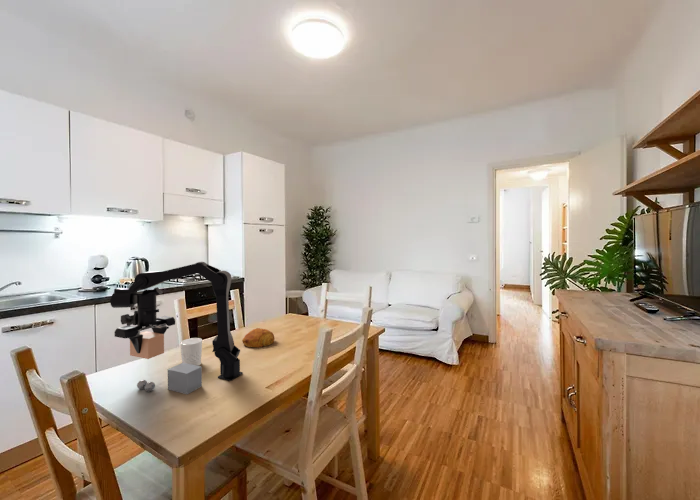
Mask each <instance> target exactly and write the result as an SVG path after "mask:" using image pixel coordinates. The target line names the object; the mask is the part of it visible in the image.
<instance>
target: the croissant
mask: <svg viewBox="0 0 700 500" xmlns="http://www.w3.org/2000/svg"><path fill="white" fill-rule="evenodd" d="M241 342H242V344H243V346H246V347H248V348H258V349H260V348H263V347H268V346H270V345H273V344H274V342H275V334H274V333H273V332H272V331H270V329H269V330H268V329H266V328H261V327H259V328H258V327H256V328H253V329H252V330H250V331H249V332H248V333H246V334H245V335H244V336H243V338H242V340H241Z"/></svg>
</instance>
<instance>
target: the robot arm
mask: <svg viewBox="0 0 700 500" xmlns="http://www.w3.org/2000/svg"><path fill="white" fill-rule="evenodd" d="M195 274H198V275H199V276H201V277H203V278H204V279H206V280H207V281H209V282H211V286H212V287H211V288H212V290H213V293H214V295H215V302H216V304H215V305H216V317H217V318H216V323H217V335H216V336H215V337H214V338H213V340H212V341H211V342H212V353H213V354H214V356H215V357H216V358H217V359H218V360H219V363H220V365H219V367H220V370H219V371H220V372H219V373H220V375H218V376H217V378H218V379H220V380H226V381H229V382H230V381H233V380H235V379H237V378H238V377H240V376H242V375H243V373H244V372H242V371H241V361H240V360H241V359H240V358H239V355H240V353H241V349H239V347H238V346H236V345H235V341H234V337H233V335H232V332H231V330H230V329H231V326H230V325H231V324H230V306H229V305H230V302H229V294H230V293H229V292H230V288H231V284H232V275H231V273H230V272H229V271H228V270H221V269H219V268H217V267H215V266H212V265H210V264H208V263H206V262H205V261H198V262H196V263H192V264H188V265H184V266H179V267H176V268H171V269H167V270H151V271H145V272H144V271H143V272H141V273H138V274H136V275H135V277H134V278H133V283H132V284H131V285H130V286H129V287H128V288H123V287H116V288H115V289H113V293H112V294H111V298H110V300H109V302H110V306H111V308H113V309H114V308H115V309H117V308H118V309H119V308H121V309H123V308H134V307H135V305H137V309H136V310H134V312H133V315H130V314H129V313H127V314H123V315H122V314H121V315H120V323H121V325H123V326H119V327H116V329H115V330H114V337H115V338H121V339H129V341H130V340H131V342H132V344H133V346H134V348H135V350H136V352H137V353H140V351H141V346H142V338H143V335H140V333H141V331H142V332H143V331H145V330H149V329H151V330H152V332H154V333H160V334H164V335H165V333H166V332H167V330H168V329H170V327H171V326H174V325H176V319H175V317H174V316H170V315H169V316H168V315H164V316H160V317H157V313H159V312H160V309H159V308H157V296H158V295H161V294H163V293H164V291H163V290H161V289H160V288H159V287H155V286H157V285H160V284H162V283H165V282H167V281H171V280H175V279H179V278H183V277H187V276H191V275H195ZM152 287H155V288H153V289H150V288H152ZM142 290H143V291H142Z"/></svg>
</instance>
